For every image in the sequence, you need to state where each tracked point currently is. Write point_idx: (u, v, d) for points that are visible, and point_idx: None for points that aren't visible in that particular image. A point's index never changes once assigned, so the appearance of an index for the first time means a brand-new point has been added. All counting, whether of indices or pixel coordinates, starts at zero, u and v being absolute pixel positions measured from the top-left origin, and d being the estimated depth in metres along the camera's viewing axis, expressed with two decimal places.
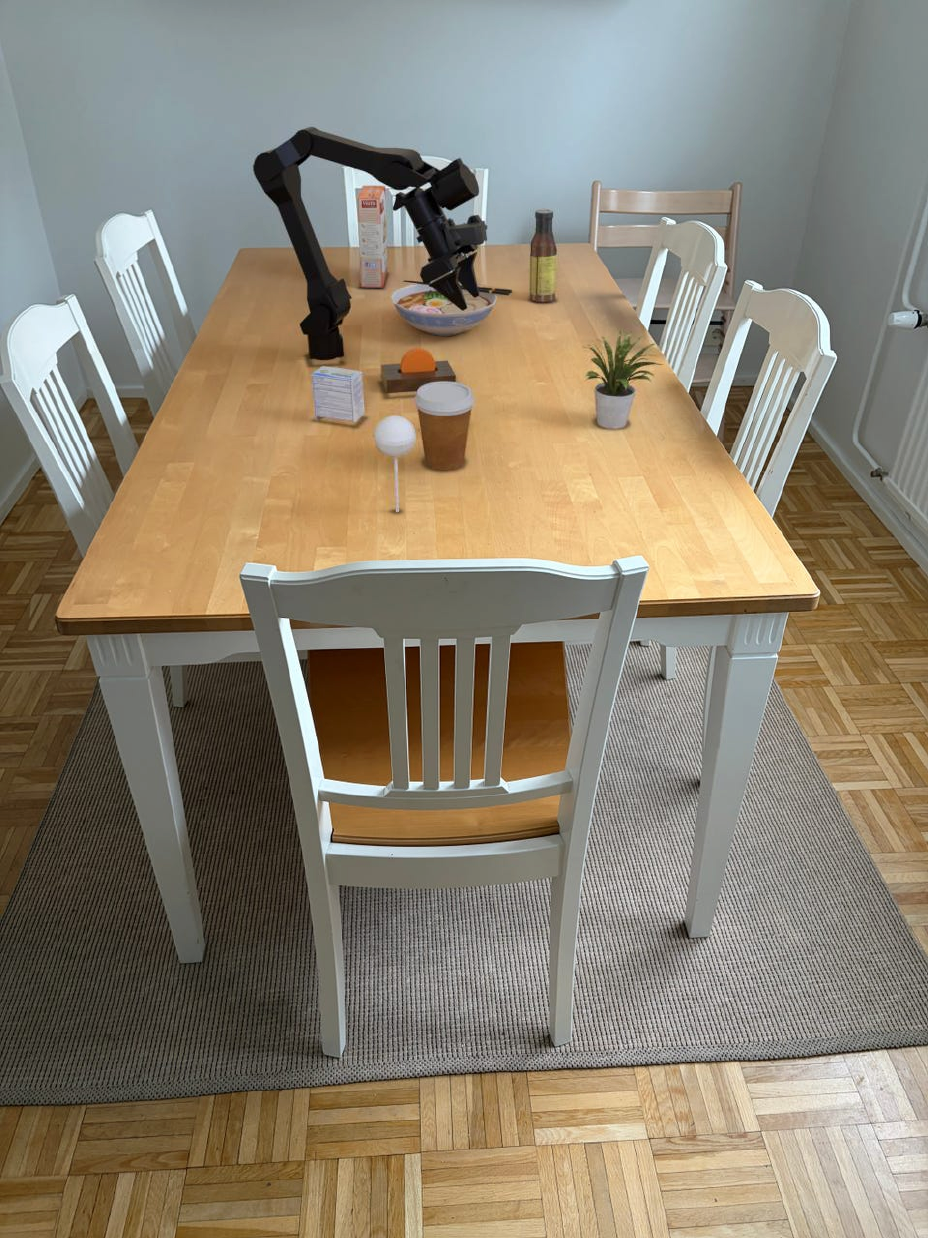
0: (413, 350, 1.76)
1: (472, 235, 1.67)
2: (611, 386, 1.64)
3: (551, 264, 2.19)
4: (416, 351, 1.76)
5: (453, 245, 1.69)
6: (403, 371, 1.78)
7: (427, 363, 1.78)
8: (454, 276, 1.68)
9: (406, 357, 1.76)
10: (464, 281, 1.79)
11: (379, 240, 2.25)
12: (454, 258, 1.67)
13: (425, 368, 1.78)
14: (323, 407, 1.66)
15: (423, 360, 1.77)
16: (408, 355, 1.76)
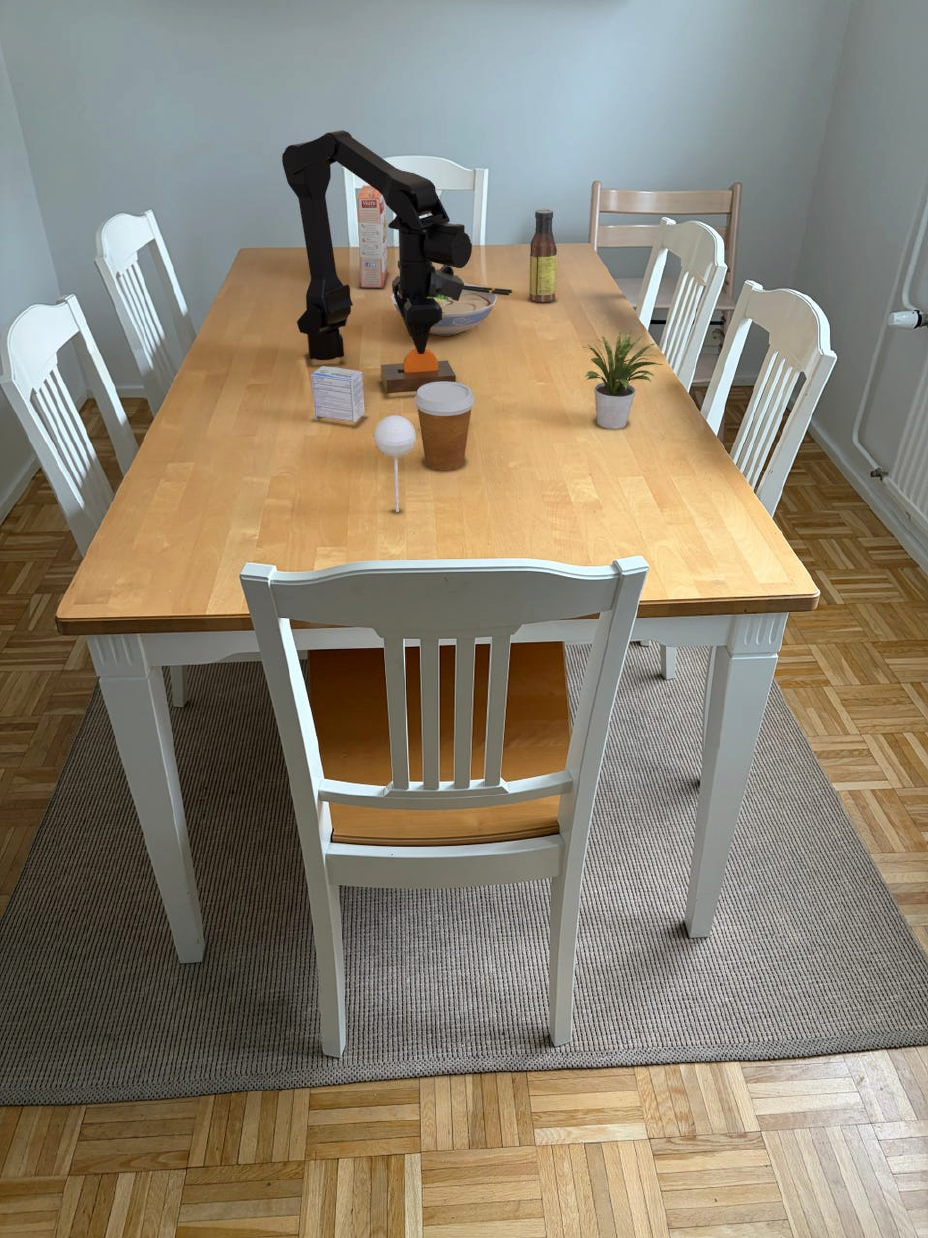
0: None
1: (455, 290, 1.69)
2: (611, 386, 1.64)
3: (551, 264, 2.19)
4: None
5: (434, 291, 1.68)
6: (405, 368, 1.78)
7: (430, 364, 1.78)
8: (432, 323, 1.68)
9: (410, 355, 1.76)
10: None
11: (379, 240, 2.25)
12: None
13: (427, 369, 1.79)
14: (323, 407, 1.66)
15: (427, 360, 1.78)
16: (412, 353, 1.76)
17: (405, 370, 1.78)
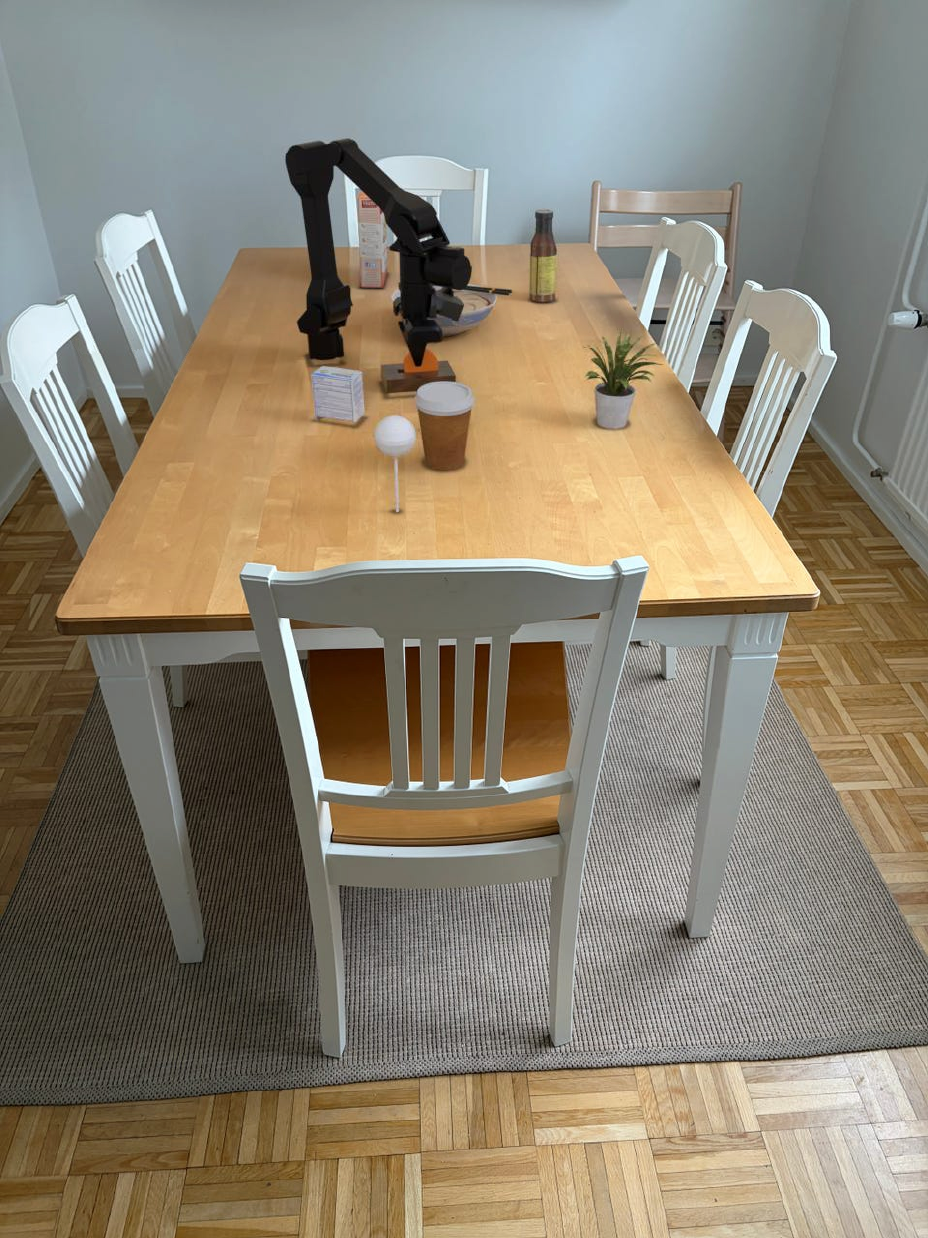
0: None
1: (455, 311, 1.71)
2: (611, 386, 1.64)
3: (551, 264, 2.19)
4: None
5: (435, 312, 1.70)
6: (405, 368, 1.78)
7: (431, 364, 1.78)
8: None
9: (410, 355, 1.76)
10: None
11: (379, 240, 2.25)
12: None
13: (427, 369, 1.79)
14: (323, 407, 1.66)
15: (427, 360, 1.78)
16: None
17: (405, 370, 1.78)
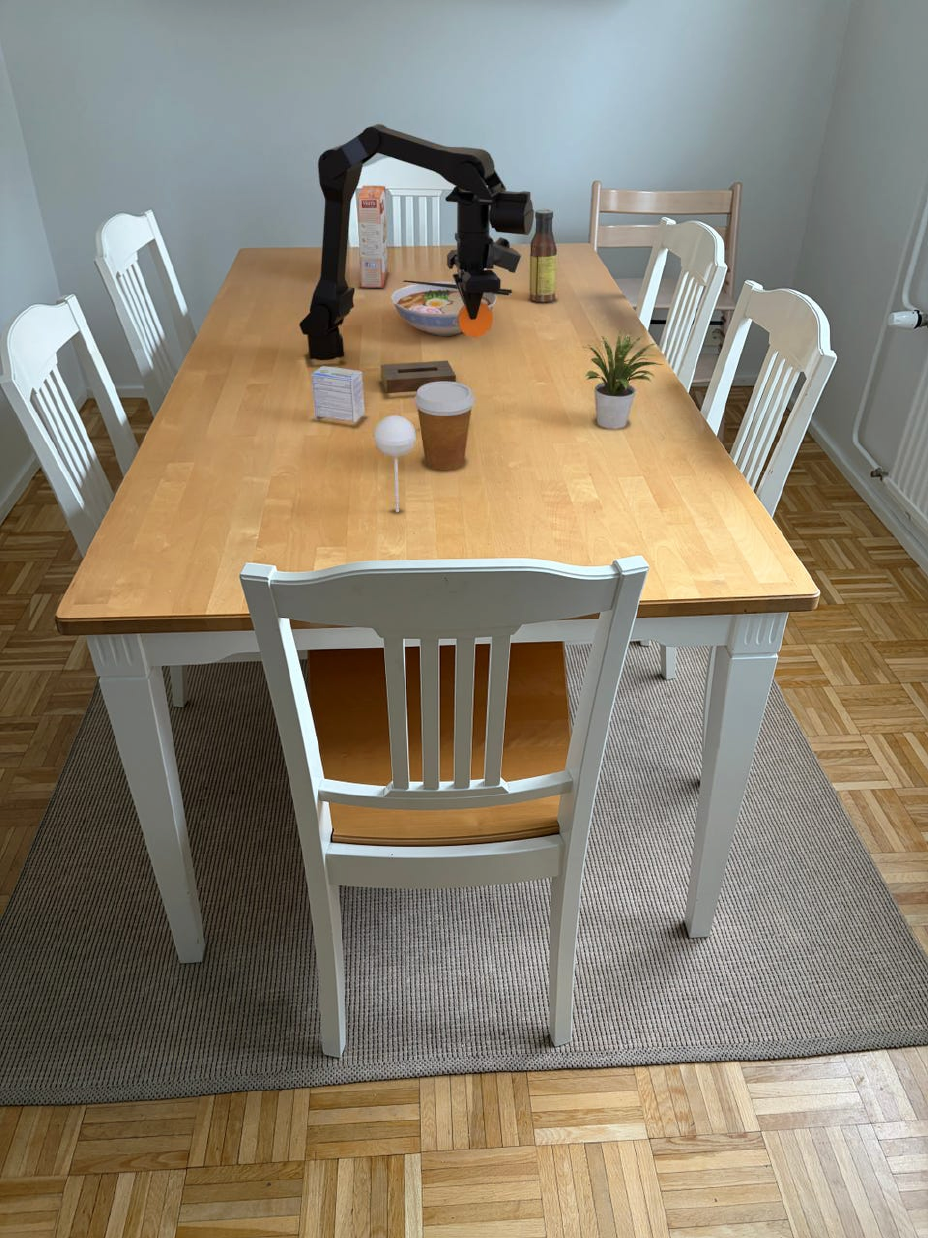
0: None
1: (511, 262, 1.70)
2: (611, 386, 1.64)
3: (551, 264, 2.19)
4: None
5: (492, 263, 1.69)
6: (460, 321, 1.76)
7: (485, 317, 1.77)
8: None
9: None
10: None
11: (379, 240, 2.25)
12: None
13: (482, 323, 1.77)
14: (323, 407, 1.66)
15: (481, 313, 1.76)
16: None
17: (460, 323, 1.76)
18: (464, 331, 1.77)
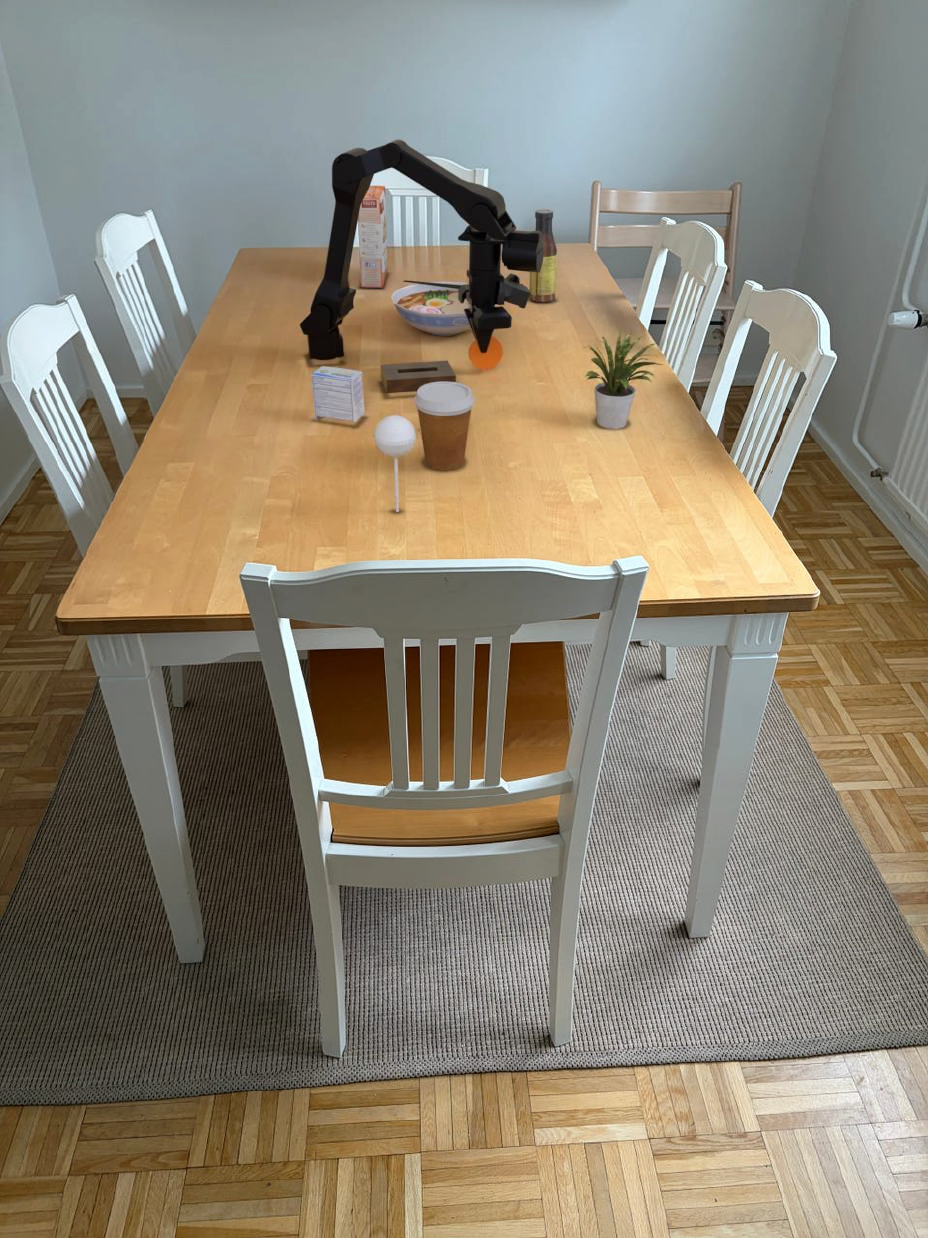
0: None
1: (522, 298, 1.75)
2: (611, 386, 1.64)
3: (551, 264, 2.19)
4: None
5: (502, 299, 1.74)
6: (471, 355, 1.81)
7: (495, 350, 1.81)
8: None
9: None
10: None
11: (379, 240, 2.25)
12: None
13: (492, 356, 1.82)
14: (323, 407, 1.66)
15: (492, 347, 1.81)
16: None
17: (471, 356, 1.81)
18: (475, 364, 1.82)
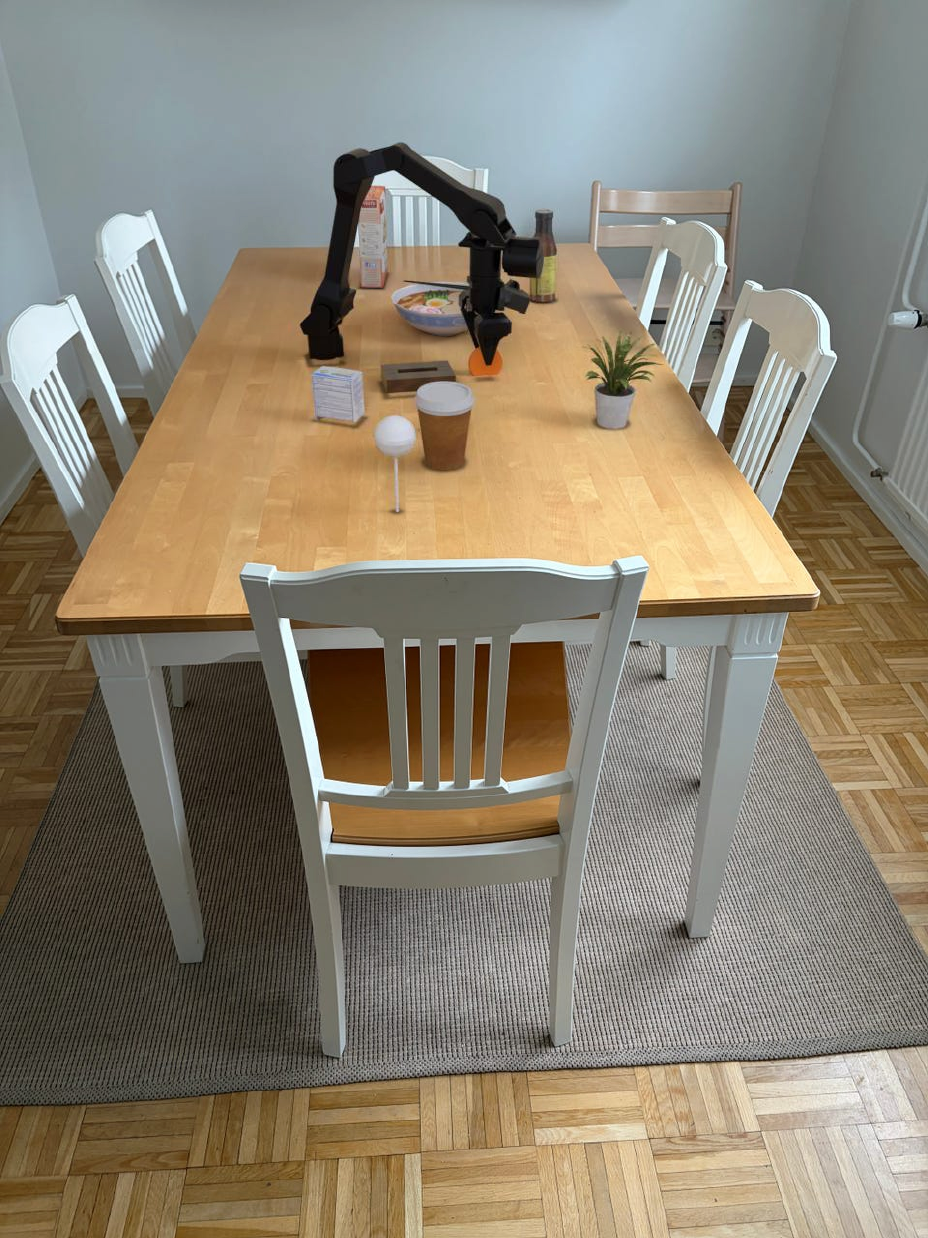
0: None
1: (522, 304, 1.75)
2: (611, 386, 1.64)
3: (551, 264, 2.19)
4: None
5: (503, 305, 1.74)
6: (471, 366, 1.82)
7: (495, 361, 1.83)
8: (501, 336, 1.73)
9: (476, 352, 1.81)
10: (473, 330, 1.84)
11: (379, 240, 2.25)
12: None
13: (492, 366, 1.83)
14: (323, 407, 1.66)
15: None
16: (478, 351, 1.81)
17: (470, 367, 1.82)
18: (475, 374, 1.83)
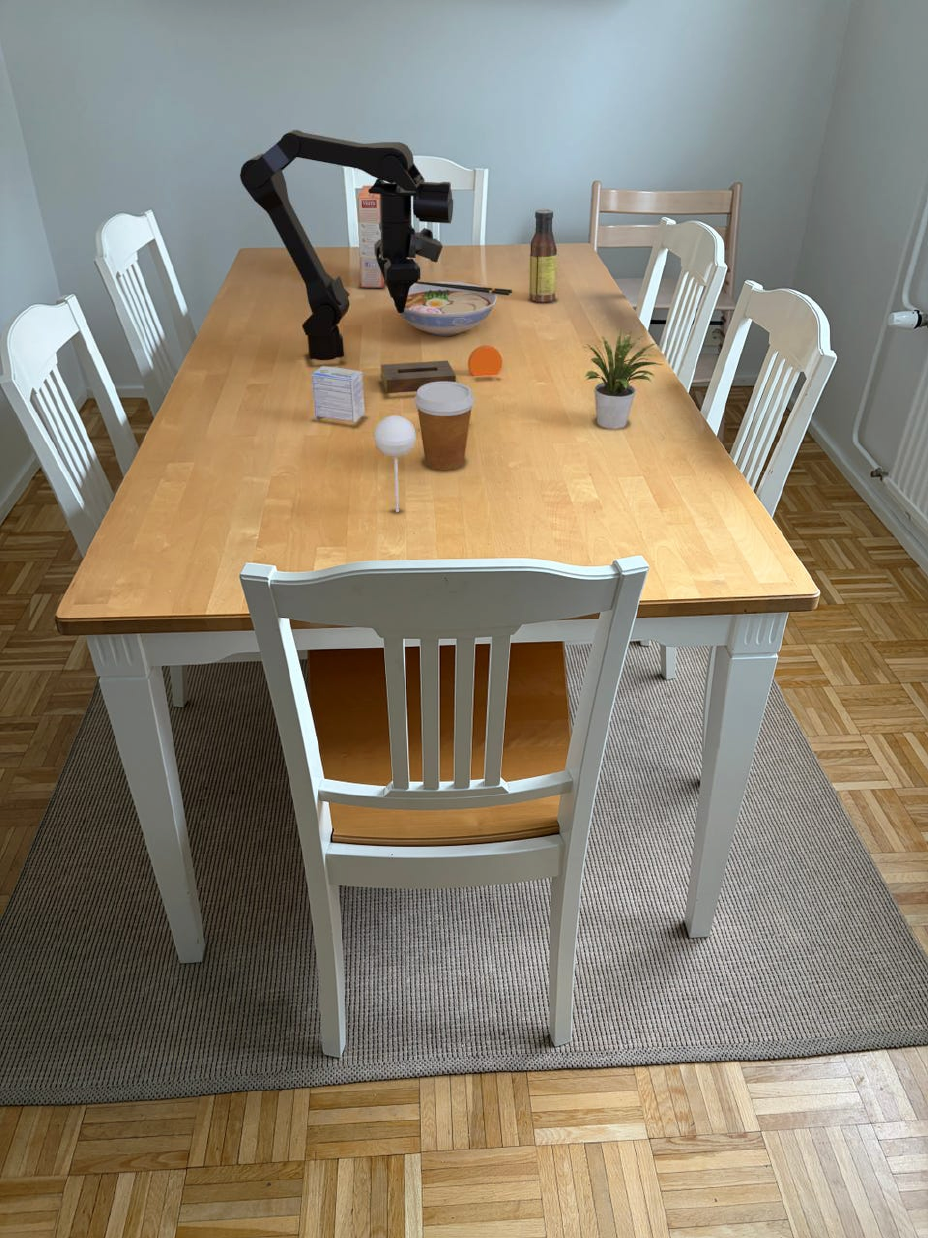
0: (483, 347, 1.81)
1: (433, 251, 1.77)
2: (611, 386, 1.64)
3: (551, 264, 2.19)
4: (486, 348, 1.81)
5: (414, 252, 1.76)
6: (470, 366, 1.82)
7: (495, 361, 1.83)
8: (411, 283, 1.75)
9: (476, 352, 1.81)
10: None
11: None
12: None
13: (492, 366, 1.83)
14: (323, 407, 1.66)
15: (491, 357, 1.82)
16: (478, 351, 1.81)
17: (470, 367, 1.82)
18: (474, 375, 1.83)
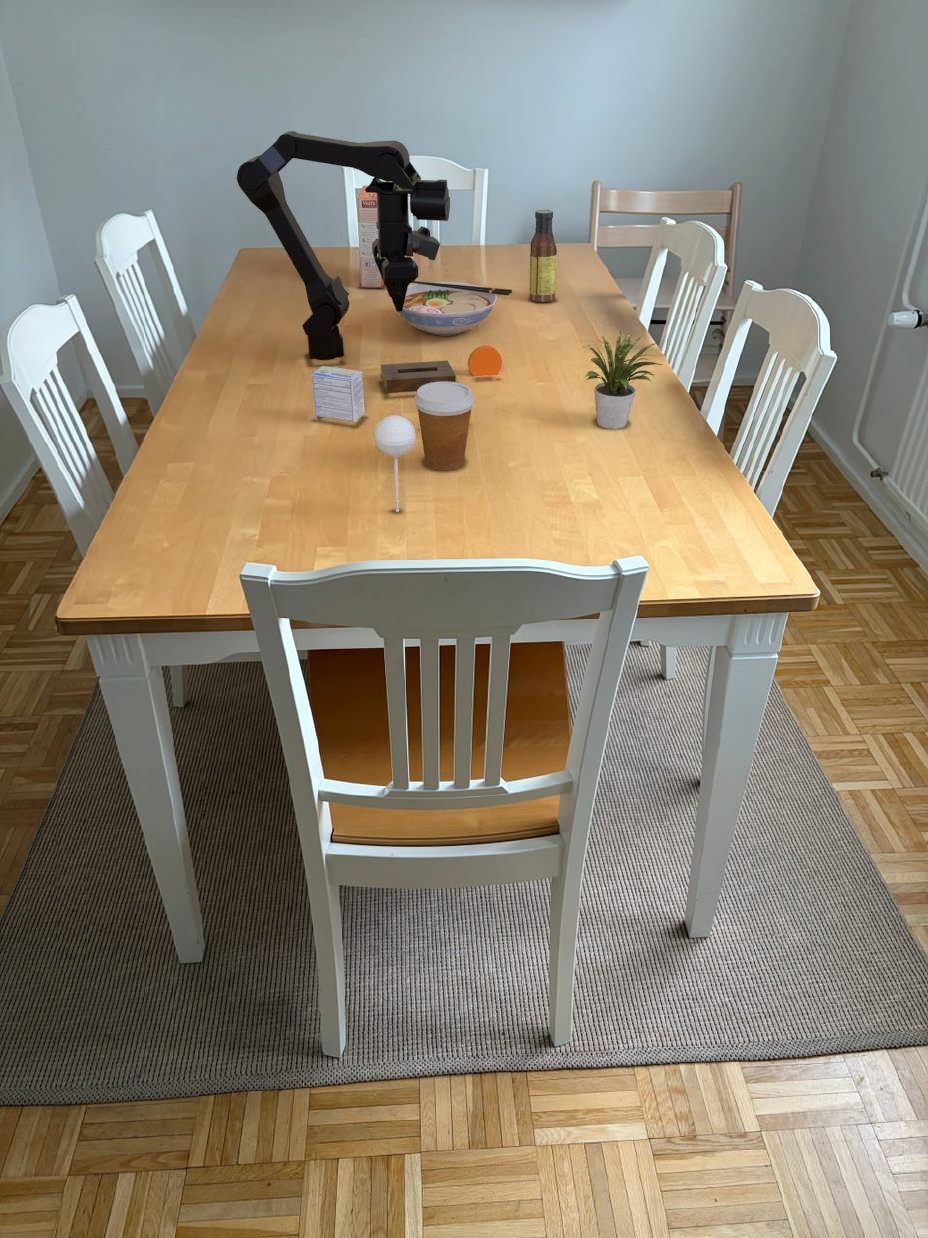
0: (483, 347, 1.81)
1: (431, 249, 1.77)
2: (611, 386, 1.64)
3: (551, 264, 2.19)
4: (486, 348, 1.81)
5: (411, 250, 1.76)
6: (470, 366, 1.82)
7: (495, 361, 1.83)
8: (409, 281, 1.75)
9: (475, 353, 1.81)
10: None
11: None
12: None
13: (491, 366, 1.83)
14: (323, 407, 1.66)
15: (491, 357, 1.82)
16: (477, 351, 1.81)
17: (470, 367, 1.82)
18: (474, 375, 1.83)
